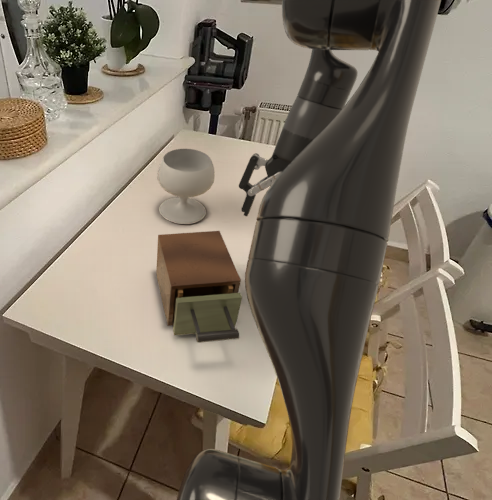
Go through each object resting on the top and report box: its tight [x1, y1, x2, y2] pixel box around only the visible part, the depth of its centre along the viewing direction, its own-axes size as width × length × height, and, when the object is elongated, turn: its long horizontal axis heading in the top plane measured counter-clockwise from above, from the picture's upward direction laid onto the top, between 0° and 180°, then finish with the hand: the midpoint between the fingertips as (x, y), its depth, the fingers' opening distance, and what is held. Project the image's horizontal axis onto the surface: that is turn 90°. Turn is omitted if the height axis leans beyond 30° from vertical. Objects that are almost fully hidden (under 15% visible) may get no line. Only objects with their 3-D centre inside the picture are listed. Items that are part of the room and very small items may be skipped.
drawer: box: [172, 285, 243, 343], centre depth 80 cm, size 20×12×9 cm, turn 7°
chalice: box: [156, 148, 216, 225], centre depth 107 cm, size 14×14×15 cm
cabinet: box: [155, 230, 242, 327], centre depth 85 cm, size 15×13×11 cm
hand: (269, 223), depth 75 cm, fingers open, 8 cm apart
